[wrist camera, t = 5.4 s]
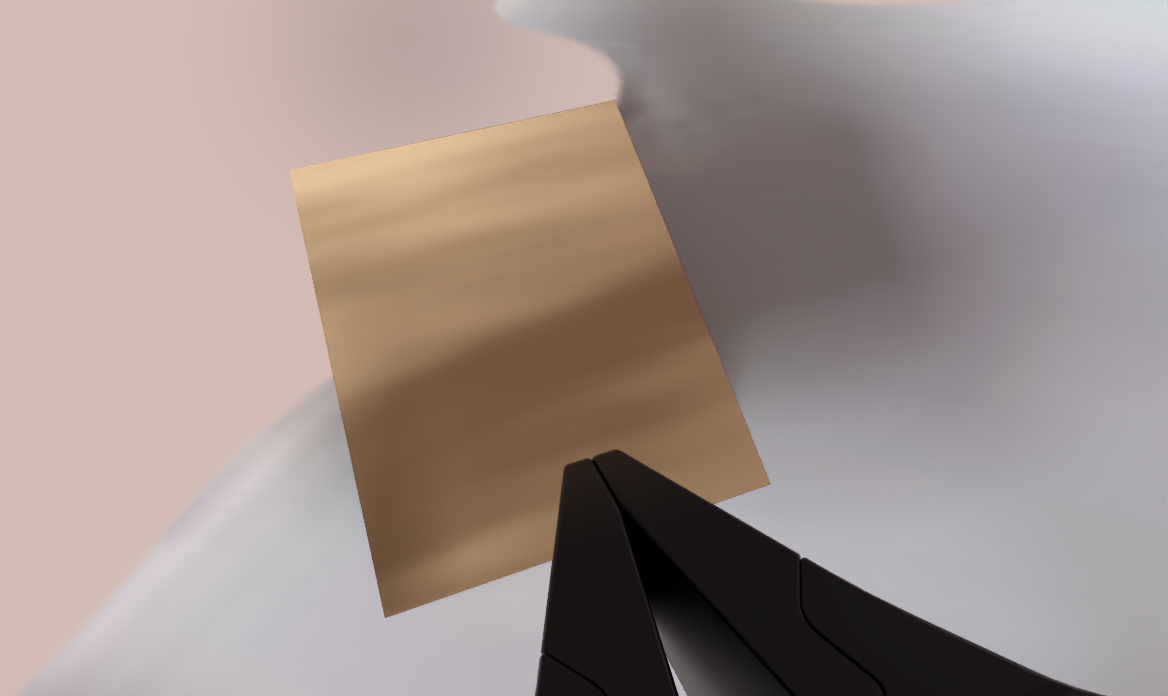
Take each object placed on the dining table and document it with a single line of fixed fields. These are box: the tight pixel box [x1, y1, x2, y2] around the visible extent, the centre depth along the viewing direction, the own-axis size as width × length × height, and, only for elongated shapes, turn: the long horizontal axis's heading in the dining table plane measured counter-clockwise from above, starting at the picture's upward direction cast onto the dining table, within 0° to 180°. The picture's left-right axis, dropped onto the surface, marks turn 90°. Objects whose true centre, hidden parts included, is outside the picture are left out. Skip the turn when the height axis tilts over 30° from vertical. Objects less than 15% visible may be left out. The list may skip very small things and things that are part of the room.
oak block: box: [290, 100, 771, 618], centre depth 15 cm, size 4×8×10 cm
